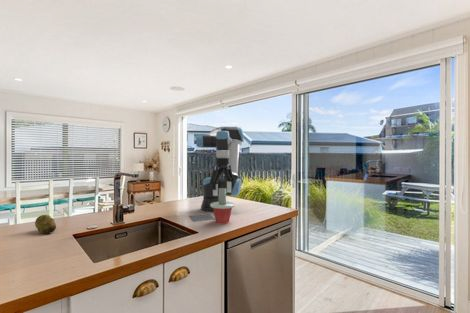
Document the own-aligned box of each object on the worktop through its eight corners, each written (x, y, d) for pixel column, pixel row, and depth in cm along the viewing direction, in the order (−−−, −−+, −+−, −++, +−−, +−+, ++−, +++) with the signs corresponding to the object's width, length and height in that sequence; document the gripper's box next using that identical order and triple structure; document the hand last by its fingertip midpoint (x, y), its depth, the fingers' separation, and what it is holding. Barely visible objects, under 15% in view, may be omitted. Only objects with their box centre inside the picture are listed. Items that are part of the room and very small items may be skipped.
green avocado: (35, 236, 120) (35, 220, 120) (35, 230, 130) (34, 214, 130) (56, 233, 126) (56, 217, 125) (54, 227, 136) (54, 212, 135)
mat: (188, 216, 160) (188, 215, 160) (209, 214, 165) (209, 213, 165) (193, 222, 147) (193, 221, 147) (215, 220, 152) (215, 219, 152)
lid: (207, 204, 151) (207, 187, 151) (229, 202, 156) (229, 186, 155) (214, 209, 138) (214, 191, 137) (237, 207, 143) (237, 189, 142)
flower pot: (229, 225, 141) (229, 208, 141) (210, 224, 143) (210, 207, 143) (233, 220, 151) (233, 204, 151) (216, 219, 153) (216, 203, 153)
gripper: (229, 157, 158) (229, 190, 159) (203, 157, 138) (203, 196, 138) (239, 157, 154) (239, 191, 155) (214, 158, 134) (214, 197, 134)
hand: (222, 194), depth 147 cm, fingers open, 13 cm apart
